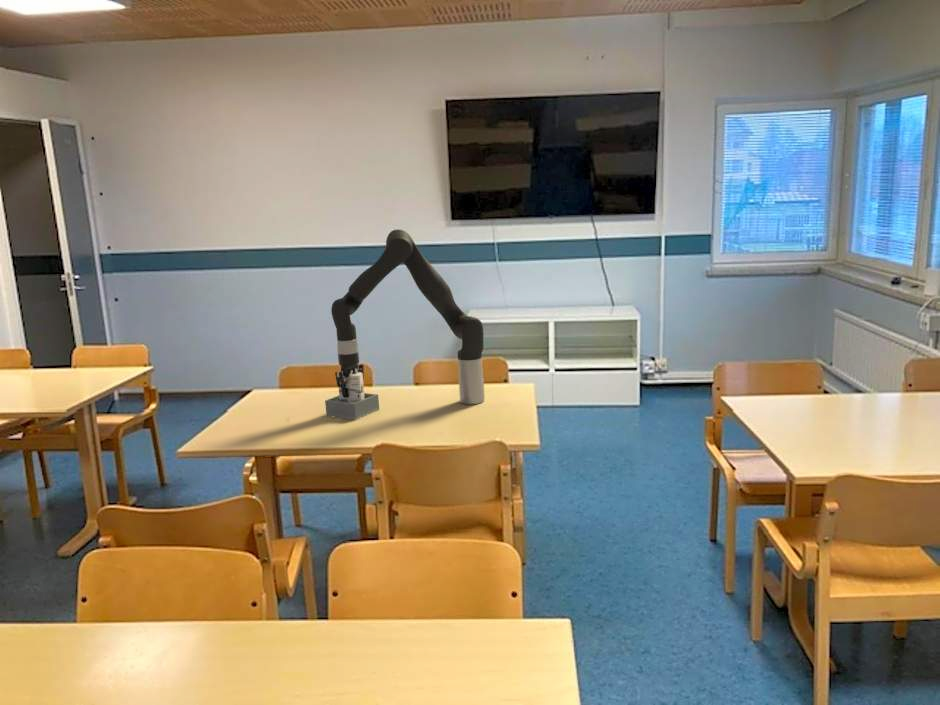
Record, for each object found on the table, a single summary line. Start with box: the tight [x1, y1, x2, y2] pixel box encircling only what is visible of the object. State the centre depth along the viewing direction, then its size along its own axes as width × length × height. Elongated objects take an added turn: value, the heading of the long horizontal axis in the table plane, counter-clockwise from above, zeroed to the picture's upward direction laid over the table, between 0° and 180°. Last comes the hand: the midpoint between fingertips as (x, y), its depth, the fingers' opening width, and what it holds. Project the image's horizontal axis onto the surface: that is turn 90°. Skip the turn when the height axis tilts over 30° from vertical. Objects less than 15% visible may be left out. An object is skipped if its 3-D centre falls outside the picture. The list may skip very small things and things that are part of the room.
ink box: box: [338, 372, 365, 403], centre depth 273 cm, size 9×5×12 cm, turn 83°
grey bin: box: [324, 392, 380, 420], centre depth 275 cm, size 14×14×6 cm
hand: (351, 394), depth 274 cm, fingers closed on ink box, 6 cm apart
